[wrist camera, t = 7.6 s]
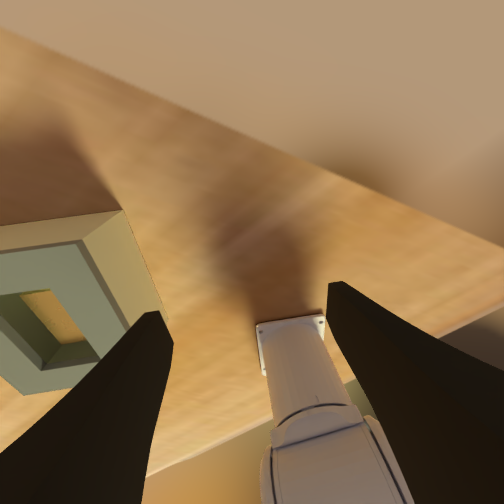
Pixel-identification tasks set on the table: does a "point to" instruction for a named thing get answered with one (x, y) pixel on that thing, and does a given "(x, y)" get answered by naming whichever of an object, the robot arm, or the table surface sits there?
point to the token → (53, 315)
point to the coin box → (69, 295)
